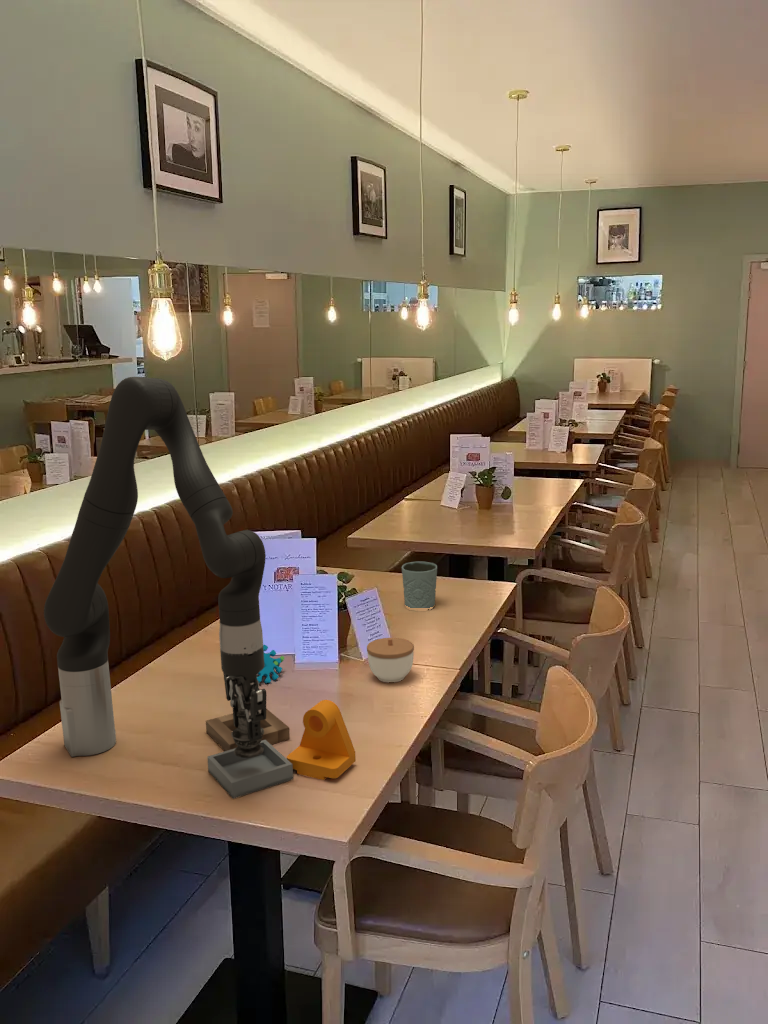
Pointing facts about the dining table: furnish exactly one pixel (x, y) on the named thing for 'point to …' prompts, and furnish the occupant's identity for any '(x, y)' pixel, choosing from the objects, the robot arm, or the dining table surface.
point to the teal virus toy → (270, 666)
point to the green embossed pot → (419, 584)
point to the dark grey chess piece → (245, 737)
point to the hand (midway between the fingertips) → (247, 732)
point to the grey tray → (250, 770)
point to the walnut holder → (225, 725)
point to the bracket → (323, 743)
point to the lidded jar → (390, 658)
